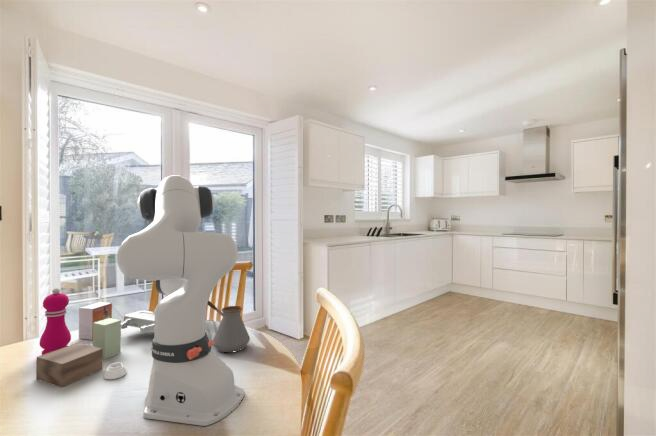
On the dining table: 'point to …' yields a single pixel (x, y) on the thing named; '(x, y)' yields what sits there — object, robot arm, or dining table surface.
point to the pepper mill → (55, 322)
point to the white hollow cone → (115, 371)
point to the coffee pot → (230, 330)
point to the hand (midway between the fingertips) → (131, 328)
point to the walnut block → (69, 364)
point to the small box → (92, 317)
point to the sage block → (107, 336)
